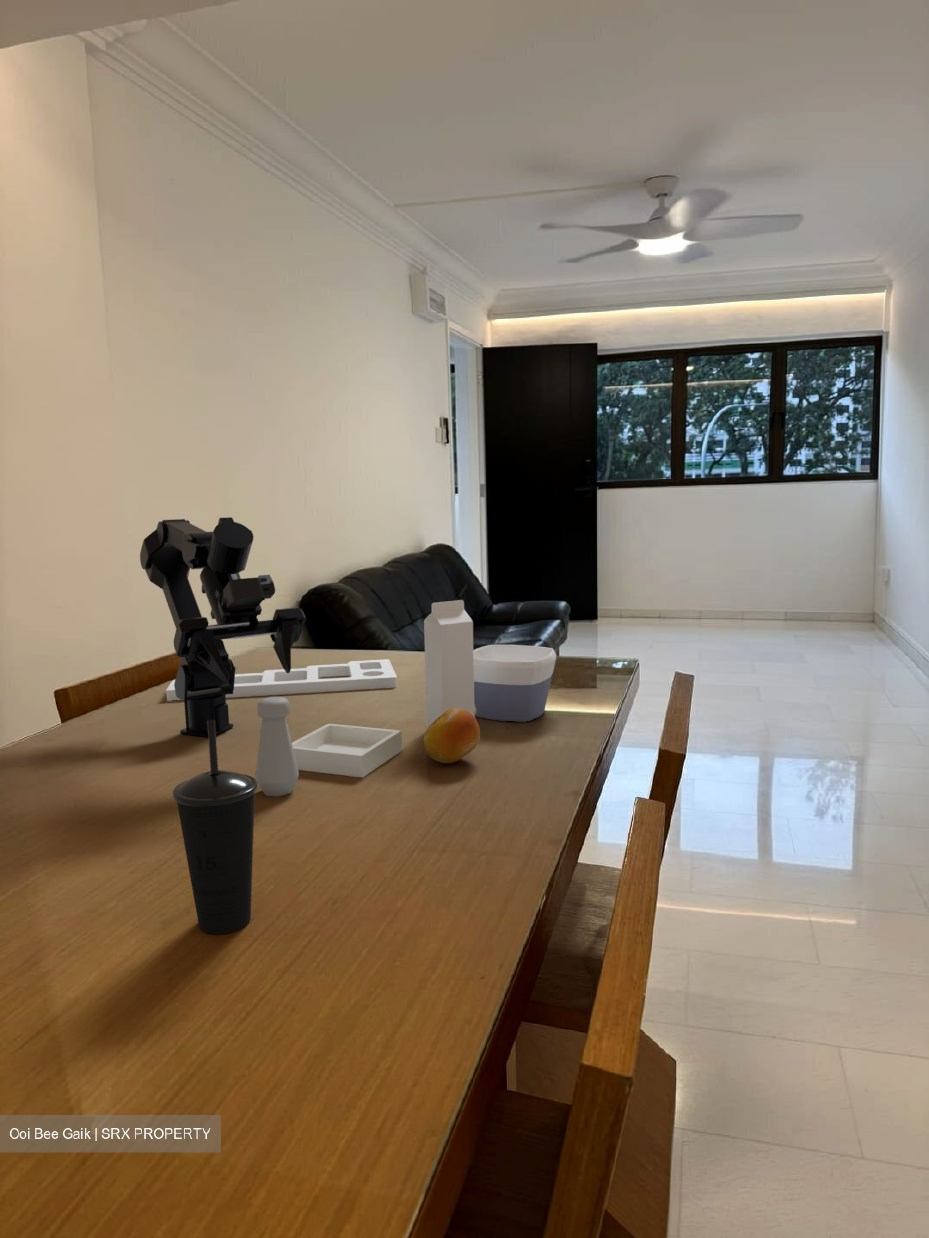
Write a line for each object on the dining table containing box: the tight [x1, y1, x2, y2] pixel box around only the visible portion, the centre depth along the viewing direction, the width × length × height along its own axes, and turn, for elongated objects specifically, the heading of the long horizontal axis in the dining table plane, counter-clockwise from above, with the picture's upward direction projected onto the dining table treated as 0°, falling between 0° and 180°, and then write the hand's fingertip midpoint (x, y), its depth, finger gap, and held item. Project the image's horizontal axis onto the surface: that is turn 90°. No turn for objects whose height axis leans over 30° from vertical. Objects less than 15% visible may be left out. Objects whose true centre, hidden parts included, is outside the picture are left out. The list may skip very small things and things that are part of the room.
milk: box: [423, 599, 476, 730], centre depth 142 cm, size 6×6×22 cm
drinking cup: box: [172, 720, 258, 935], centre depth 82 cm, size 8×8×20 cm
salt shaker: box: [255, 696, 300, 797], centre depth 117 cm, size 6×6×13 cm
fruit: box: [423, 708, 481, 764], centre depth 128 cm, size 8×9×8 cm
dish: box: [292, 723, 403, 778], centre depth 131 cm, size 13×13×3 cm
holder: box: [165, 658, 398, 702], centre depth 181 cm, size 45×18×3 cm, turn 100°
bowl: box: [473, 644, 557, 723], centre depth 154 cm, size 15×15×11 cm
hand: (258, 675), depth 124 cm, fingers open, 9 cm apart
